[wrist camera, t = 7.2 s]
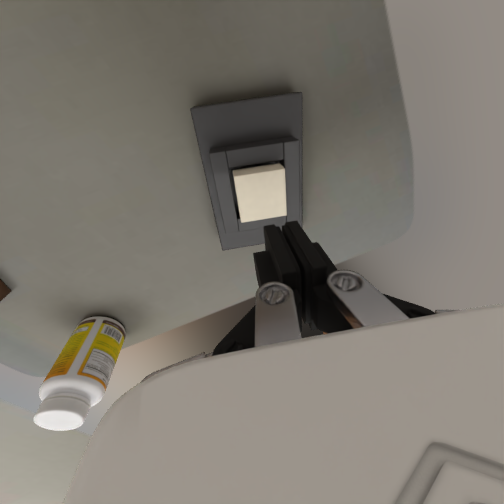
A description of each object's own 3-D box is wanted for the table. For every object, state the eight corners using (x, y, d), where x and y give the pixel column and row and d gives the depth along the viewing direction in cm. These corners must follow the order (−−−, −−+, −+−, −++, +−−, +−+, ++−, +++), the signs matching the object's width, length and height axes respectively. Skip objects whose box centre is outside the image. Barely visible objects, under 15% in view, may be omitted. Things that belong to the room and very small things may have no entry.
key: (232, 170, 18) (233, 176, 16) (279, 162, 18) (285, 168, 16) (239, 213, 20) (241, 223, 18) (281, 206, 20) (287, 215, 18)
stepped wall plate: (192, 106, 18) (187, 109, 15) (294, 92, 18) (311, 91, 15) (221, 239, 25) (222, 261, 22) (296, 227, 25) (308, 247, 22)
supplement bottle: (77, 339, 30) (23, 434, 22) (79, 310, 28) (18, 404, 19) (124, 345, 32) (91, 435, 24) (130, 318, 29) (95, 408, 21)
